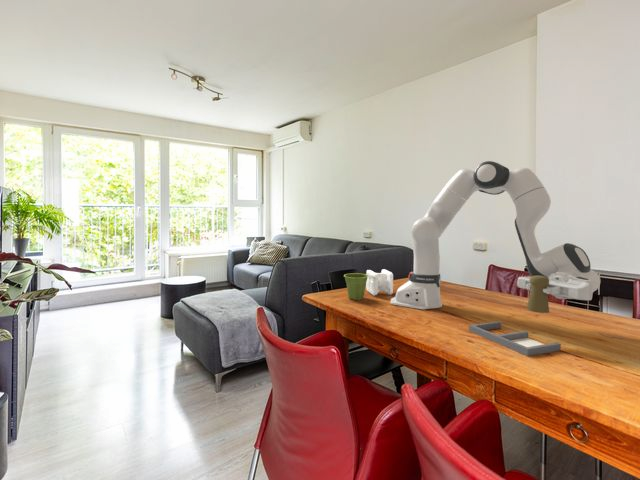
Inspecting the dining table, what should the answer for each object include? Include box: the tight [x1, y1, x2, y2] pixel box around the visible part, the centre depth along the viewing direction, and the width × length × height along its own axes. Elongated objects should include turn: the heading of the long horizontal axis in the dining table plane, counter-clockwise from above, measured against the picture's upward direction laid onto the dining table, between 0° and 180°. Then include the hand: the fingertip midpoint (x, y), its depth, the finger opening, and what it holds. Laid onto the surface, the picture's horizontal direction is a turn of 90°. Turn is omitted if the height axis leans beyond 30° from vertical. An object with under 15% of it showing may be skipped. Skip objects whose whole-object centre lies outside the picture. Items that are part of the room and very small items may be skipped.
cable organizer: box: [365, 268, 394, 297], centre depth 174 cm, size 15×11×12 cm
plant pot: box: [343, 272, 368, 301], centre depth 164 cm, size 12×12×11 cm
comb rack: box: [468, 320, 562, 357], centre depth 110 cm, size 13×23×2 cm, turn 19°
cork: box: [526, 275, 550, 314], centre depth 107 cm, size 6×6×11 cm
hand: (536, 289), depth 107 cm, fingers closed on cork, 4 cm apart
